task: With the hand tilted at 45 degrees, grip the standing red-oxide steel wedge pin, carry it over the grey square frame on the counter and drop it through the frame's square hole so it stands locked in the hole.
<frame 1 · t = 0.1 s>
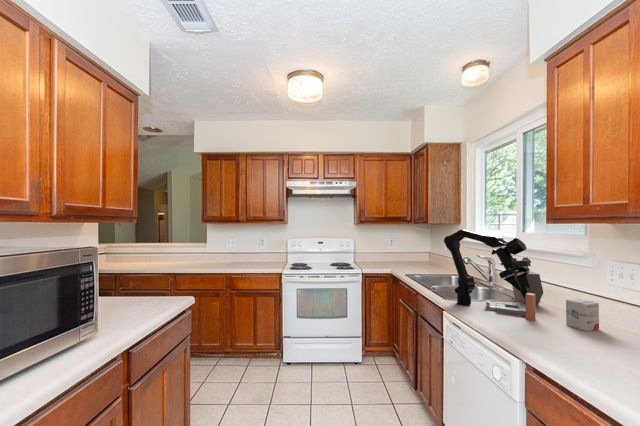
hand: (524, 288, 148), 15 cm above the worktop, tool tilted 30°, fingers open, 9 cm apart
bracket: (491, 309, 164), on the worktop
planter: (526, 302, 179), on the worktop
wedge pin: (530, 319, 149), on the worktop
ink box: (582, 327, 139), on the worktop
grey square frame: (511, 311, 162), on the worktop
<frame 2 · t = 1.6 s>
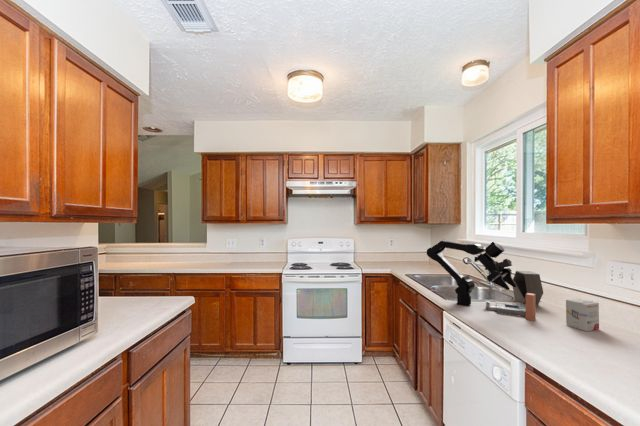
hand: (512, 288, 156), 13 cm above the worktop, tool tilted 45°, fingers open, 9 cm apart
nothing on the worktop moved.
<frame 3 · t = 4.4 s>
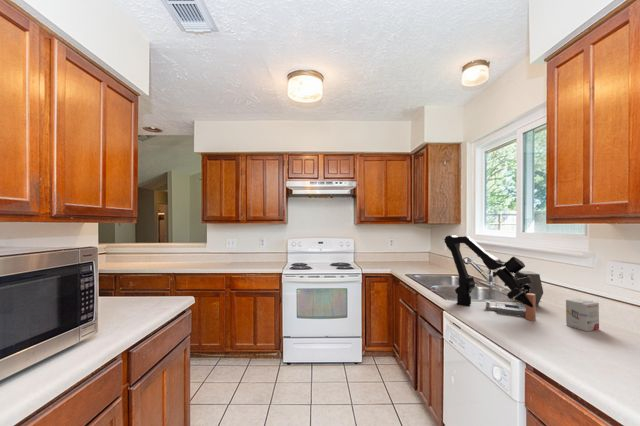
hand: (534, 305, 148), 7 cm above the worktop, tool tilted 45°, fingers closed on wedge pin, 4 cm apart
wedge pin: (530, 319, 149), on the worktop, touching gripper
everything else where it was.
when the fingers open (10 cm above the worktop, at t = 7.5 s): wedge pin drops 3 cm, resting in grey square frame.
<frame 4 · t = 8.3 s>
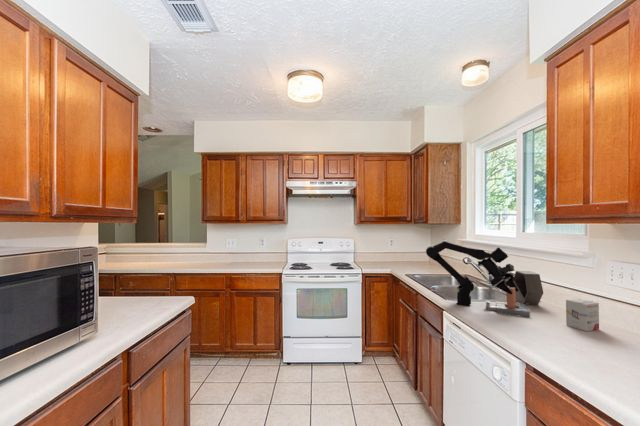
hand: (514, 292, 161), 10 cm above the worktop, tool tilted 45°, fingers open, 9 cm apart
wedge pin: (511, 311, 162), resting in grey square frame
everything else where it was.
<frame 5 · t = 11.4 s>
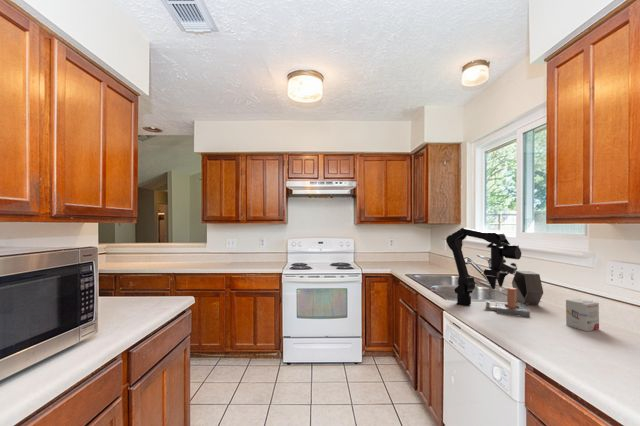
hand: (497, 287, 158), 13 cm above the worktop, tool pointing down, fingers open, 9 cm apart
nothing on the worktop moved.
at the end: wedge pin 0.0 cm off-centre on the grey square frame, point 0.0 cm above the grey square frame's base; wedge pin tilted 0°; the gripper is holding nothing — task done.
